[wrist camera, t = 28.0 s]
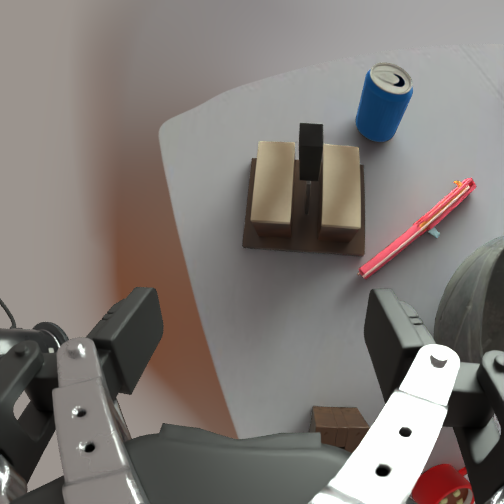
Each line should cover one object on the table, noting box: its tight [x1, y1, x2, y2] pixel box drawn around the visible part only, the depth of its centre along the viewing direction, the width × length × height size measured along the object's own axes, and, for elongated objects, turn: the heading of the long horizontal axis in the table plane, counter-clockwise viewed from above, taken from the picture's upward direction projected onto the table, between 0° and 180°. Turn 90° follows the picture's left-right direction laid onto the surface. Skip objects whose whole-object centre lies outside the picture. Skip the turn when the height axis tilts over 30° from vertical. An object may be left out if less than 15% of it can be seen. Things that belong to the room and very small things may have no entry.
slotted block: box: [242, 141, 365, 256], centre depth 38 cm, size 16×13×8 cm
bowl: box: [434, 236, 504, 364], centre depth 28 cm, size 21×21×15 cm
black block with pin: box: [299, 123, 323, 214], centre depth 33 cm, size 2×3×17 cm, turn 174°
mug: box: [412, 464, 475, 504], centre depth 27 cm, size 8×12×8 cm, turn 115°
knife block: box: [309, 406, 370, 453], centre depth 31 cm, size 6×9×8 cm, turn 174°
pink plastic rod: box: [357, 178, 476, 279], centre depth 38 cm, size 24×2×5 cm
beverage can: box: [356, 63, 413, 142], centre depth 37 cm, size 6×6×12 cm
